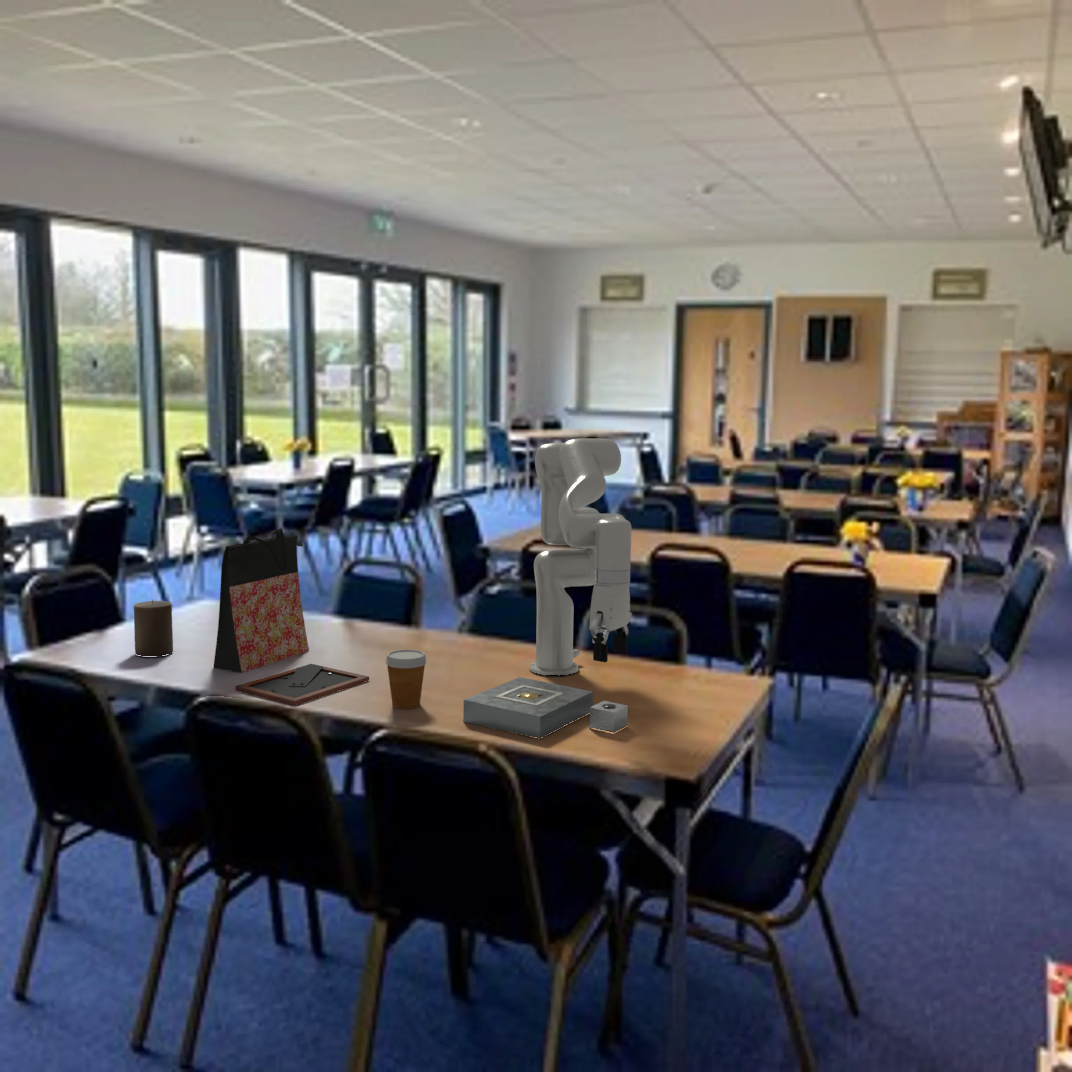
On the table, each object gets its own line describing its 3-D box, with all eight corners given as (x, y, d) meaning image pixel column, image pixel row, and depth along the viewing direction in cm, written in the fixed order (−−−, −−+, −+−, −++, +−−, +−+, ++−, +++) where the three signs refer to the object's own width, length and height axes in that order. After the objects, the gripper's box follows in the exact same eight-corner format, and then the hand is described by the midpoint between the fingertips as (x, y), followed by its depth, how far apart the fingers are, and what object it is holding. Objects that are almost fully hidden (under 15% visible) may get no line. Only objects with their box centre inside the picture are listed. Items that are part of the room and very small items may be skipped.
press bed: (519, 697, 247) (519, 676, 246) (592, 713, 236) (593, 690, 236) (463, 721, 229) (463, 698, 228) (539, 739, 218) (540, 715, 217)
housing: (603, 722, 230) (604, 700, 230) (627, 727, 227) (627, 705, 226) (589, 729, 225) (589, 706, 225) (613, 735, 222) (614, 711, 221)
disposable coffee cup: (377, 704, 240) (376, 653, 238) (409, 696, 247) (409, 646, 245) (402, 714, 234) (402, 662, 232) (435, 705, 240) (435, 654, 238)
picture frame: (311, 670, 270) (235, 693, 249) (311, 662, 269) (235, 685, 249) (369, 683, 259) (294, 708, 238) (369, 675, 259) (294, 700, 238)
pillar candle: (165, 658, 276) (163, 603, 274) (128, 657, 276) (127, 602, 274) (178, 649, 286) (177, 596, 284) (143, 648, 286) (141, 595, 284)
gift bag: (250, 675, 263) (246, 537, 257) (208, 667, 269) (204, 533, 264) (325, 649, 288) (323, 524, 283) (285, 643, 295) (283, 520, 290)
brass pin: (526, 711, 235) (526, 691, 235) (541, 715, 233) (541, 694, 232) (516, 716, 232) (516, 695, 231) (531, 719, 230) (531, 698, 229)
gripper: (616, 569, 231) (614, 646, 233) (576, 580, 216) (574, 662, 219) (646, 572, 227) (644, 651, 229) (607, 585, 212) (605, 668, 215)
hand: (610, 656), depth 224 cm, fingers open, 8 cm apart
